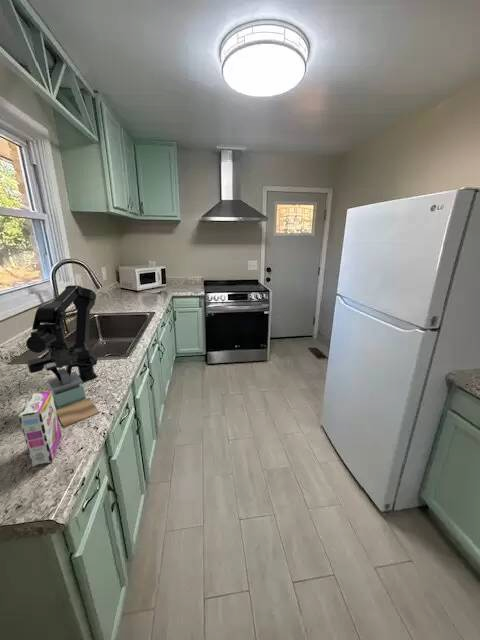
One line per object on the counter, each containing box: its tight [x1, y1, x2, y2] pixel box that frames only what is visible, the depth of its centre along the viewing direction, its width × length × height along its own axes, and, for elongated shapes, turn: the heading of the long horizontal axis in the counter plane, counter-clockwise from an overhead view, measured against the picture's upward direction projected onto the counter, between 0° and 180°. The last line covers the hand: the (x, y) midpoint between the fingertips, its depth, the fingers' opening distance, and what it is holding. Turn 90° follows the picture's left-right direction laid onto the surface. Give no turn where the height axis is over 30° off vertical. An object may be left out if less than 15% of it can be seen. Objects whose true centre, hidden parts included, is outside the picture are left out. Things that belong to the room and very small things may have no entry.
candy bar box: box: [18, 390, 62, 468], centre depth 75 cm, size 11×5×16 cm, turn 21°
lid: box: [47, 367, 84, 393], centre depth 100 cm, size 10×9×6 cm
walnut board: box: [56, 397, 101, 428], centre depth 95 cm, size 12×11×1 cm
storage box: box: [48, 383, 87, 409], centre depth 102 cm, size 10×9×6 cm
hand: (64, 379), depth 100 cm, fingers closed on lid, 2 cm apart
